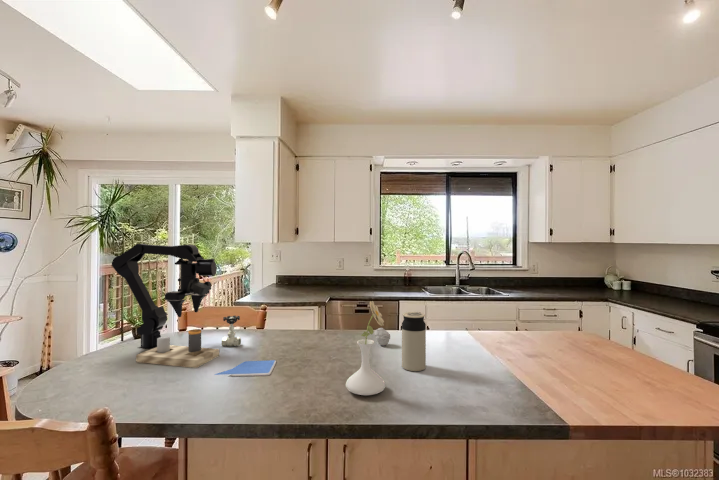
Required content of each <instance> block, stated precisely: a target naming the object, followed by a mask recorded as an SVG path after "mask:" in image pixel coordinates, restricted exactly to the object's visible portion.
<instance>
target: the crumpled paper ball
mask: <svg viewBox="0 0 719 480" xmlns="http://www.w3.org/2000/svg"><path fill="white" fill-rule="evenodd" d="M373 334H374V337H375V338H376V342H377V344H378V345H380V346H387V345H388V344H389V343H390V340H391V334H390V333H389V331H387V330H386V329H385V328H383V327H379V328H377V329H375V330H374V332H373Z"/></svg>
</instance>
